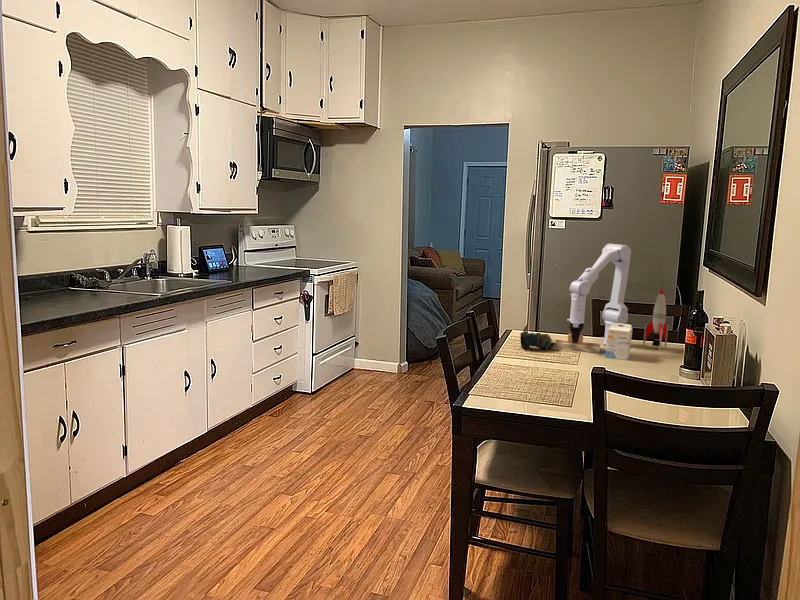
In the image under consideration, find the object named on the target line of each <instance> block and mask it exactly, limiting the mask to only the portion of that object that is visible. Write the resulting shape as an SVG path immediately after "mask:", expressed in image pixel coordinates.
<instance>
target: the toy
mask: <svg viewBox="0 0 800 600" xmlns="http://www.w3.org/2000/svg"><path fill="white" fill-rule="evenodd" d="M663 283H664V281H662V283H661V287H663ZM654 302H655V303H654V307H653V312H652V320H651V321H650V322H648V324H647V321H648V320H645V324H644V331H643V334H644V335H643V343H642V346H643V347H645V345H646V341H647V339H648V338H649V336H650V335H651V334H652V338H653V339H654V340H653V341H652V344H651V345H652V346H654V347H659V349H658V352H661V351H662V343H663V342H662V341H663V340H664V348H667V343H668V332H669V321H667V324H666V315H667V304H666V302H667V301H666V296H665V292H664V291H663V289H661V290H660V291H659V293H658V294H657V296H656V300H655V301H654Z"/></svg>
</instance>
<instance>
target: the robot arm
mask: <svg viewBox="0 0 800 600" xmlns="http://www.w3.org/2000/svg"><path fill="white" fill-rule="evenodd" d="M631 255H632V249H631V248H630V246H629V245H627V244H617V243H610V242H608V243H607V244H606V245H604V247H603V248H602V249H601V255H600V256H599V257H598V258H597V259H596V261H595V262H594V263H593V265H592V267H588V268H585V269H584V271H583V273H581V275H580V276H579V277H578V279H577V280H573V281H572V282H571V283H570V285H569V287H568V291H569V292H570V297H571V301H570V315H569V318H567V319H566V321H567V322H570V323H569V325H568V327H569V329H570V330H569V331H570V334H572V342H577V343H578V340H579V336H580V335H581V333H582V330H583V329H584V326H585V322H586V321H585V313H586V304H587V303H586V301H587V295H589V294H590V291H591V287H592V285H593V284H594V283H595V282H596V280H597V279H598V278H599V275H600V274H599V273H600V272H601V271H602V270H603V269H604V268H605V267H606V266H607V265H608V264H609V263H610V262H611V263H613V264H614V265H615V270H614V276H613V280H612V281H613V282H612V289H611V296H610V301H609V302H607V303H606V304H605V306H604V309H603V311H602V314H601V317H602V321H604V324H605V329H604V336H603V337H604V338H603V340H602V345H604V346H606V343H607V333H608V328H609V327H610V326H611V323H612V322H614V323H621V324H627V322H628V320H629V315H628V314H629V313H628V311H629V309H628V307H627V306H626V305H625V303H624V300H625V296H626V295H625V294H626V290H627V289H626V288H627V284H628V283H627V282H628V277H629V271H630V270H629V269H630V263H631V262H630V261H631ZM618 326H620V327H624V326H623V325H618Z"/></svg>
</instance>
